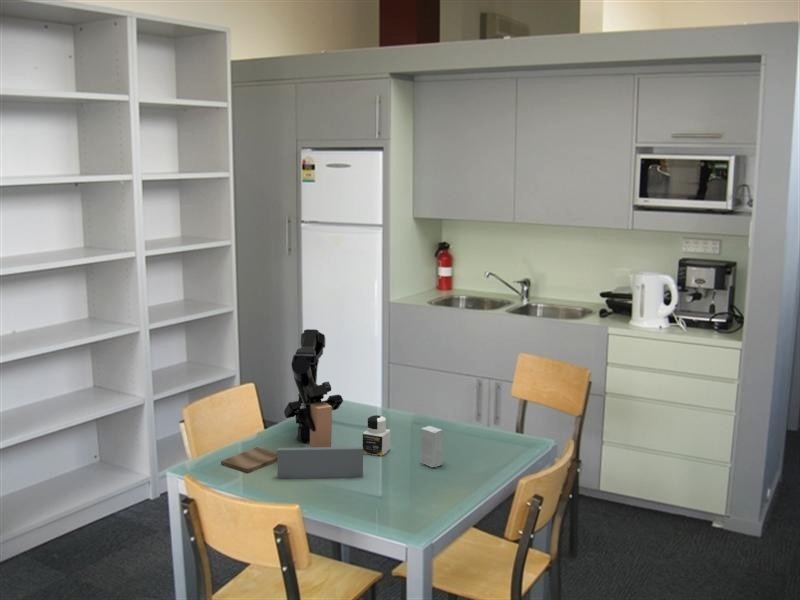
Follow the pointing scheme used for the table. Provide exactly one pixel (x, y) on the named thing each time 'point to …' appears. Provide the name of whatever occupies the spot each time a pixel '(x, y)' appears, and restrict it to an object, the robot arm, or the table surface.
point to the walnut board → (251, 460)
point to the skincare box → (431, 445)
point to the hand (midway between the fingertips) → (322, 429)
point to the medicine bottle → (376, 436)
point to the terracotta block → (321, 425)
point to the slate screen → (320, 462)
